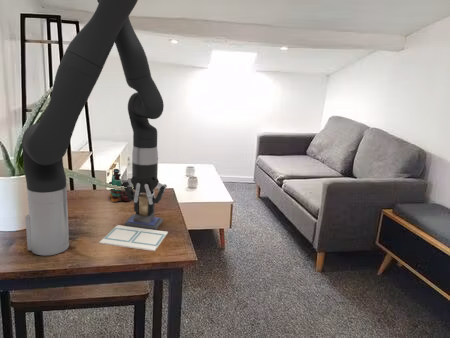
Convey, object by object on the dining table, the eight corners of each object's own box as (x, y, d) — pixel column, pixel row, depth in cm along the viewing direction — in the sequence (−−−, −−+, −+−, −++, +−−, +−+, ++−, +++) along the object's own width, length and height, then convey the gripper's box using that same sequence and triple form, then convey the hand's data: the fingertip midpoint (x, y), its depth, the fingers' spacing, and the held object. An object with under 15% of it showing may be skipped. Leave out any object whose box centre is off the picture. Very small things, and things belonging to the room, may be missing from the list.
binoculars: (140, 176, 139) (111, 174, 135) (137, 204, 142) (108, 203, 138) (136, 169, 147) (109, 167, 143) (133, 195, 150) (106, 194, 146)
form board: (99, 243, 109) (99, 241, 109) (117, 226, 121) (117, 224, 121) (154, 251, 107) (154, 249, 107) (167, 232, 119) (167, 231, 118)
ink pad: (124, 226, 121) (124, 221, 121) (132, 217, 128) (132, 213, 127) (155, 230, 120) (155, 226, 119) (162, 221, 126) (162, 217, 126)
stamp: (133, 221, 121) (133, 197, 119) (139, 215, 126) (139, 192, 124) (149, 223, 120) (149, 199, 118) (154, 217, 125) (155, 193, 123)
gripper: (117, 161, 115) (117, 215, 120) (163, 166, 113) (162, 221, 118) (127, 155, 122) (127, 206, 127) (171, 160, 121) (169, 212, 125)
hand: (144, 213), depth 123 cm, fingers closed on stamp, 3 cm apart
